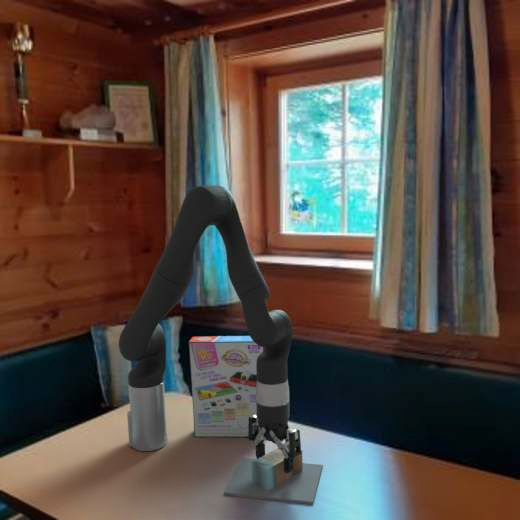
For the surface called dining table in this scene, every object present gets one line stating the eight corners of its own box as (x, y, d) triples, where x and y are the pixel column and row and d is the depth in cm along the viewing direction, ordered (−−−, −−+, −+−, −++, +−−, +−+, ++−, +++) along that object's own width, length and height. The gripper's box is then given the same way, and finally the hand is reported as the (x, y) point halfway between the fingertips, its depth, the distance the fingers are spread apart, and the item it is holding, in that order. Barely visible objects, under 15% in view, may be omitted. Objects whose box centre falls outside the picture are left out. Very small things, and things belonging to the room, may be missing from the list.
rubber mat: (223, 494, 124) (223, 492, 123) (242, 459, 139) (242, 457, 139) (313, 504, 119) (313, 501, 119) (322, 467, 134) (322, 464, 134)
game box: (270, 429, 156) (267, 335, 152) (268, 438, 150) (265, 340, 147) (197, 428, 158) (192, 335, 154) (193, 437, 152) (188, 341, 149)
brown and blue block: (302, 450, 131) (267, 469, 123) (302, 469, 132) (267, 490, 124) (286, 443, 135) (251, 462, 126) (286, 463, 135) (252, 482, 127)
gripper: (239, 395, 128) (241, 461, 131) (285, 411, 119) (287, 483, 121) (261, 386, 134) (263, 450, 136) (307, 401, 124) (308, 469, 126)
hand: (274, 465), depth 128 cm, fingers open, 8 cm apart
